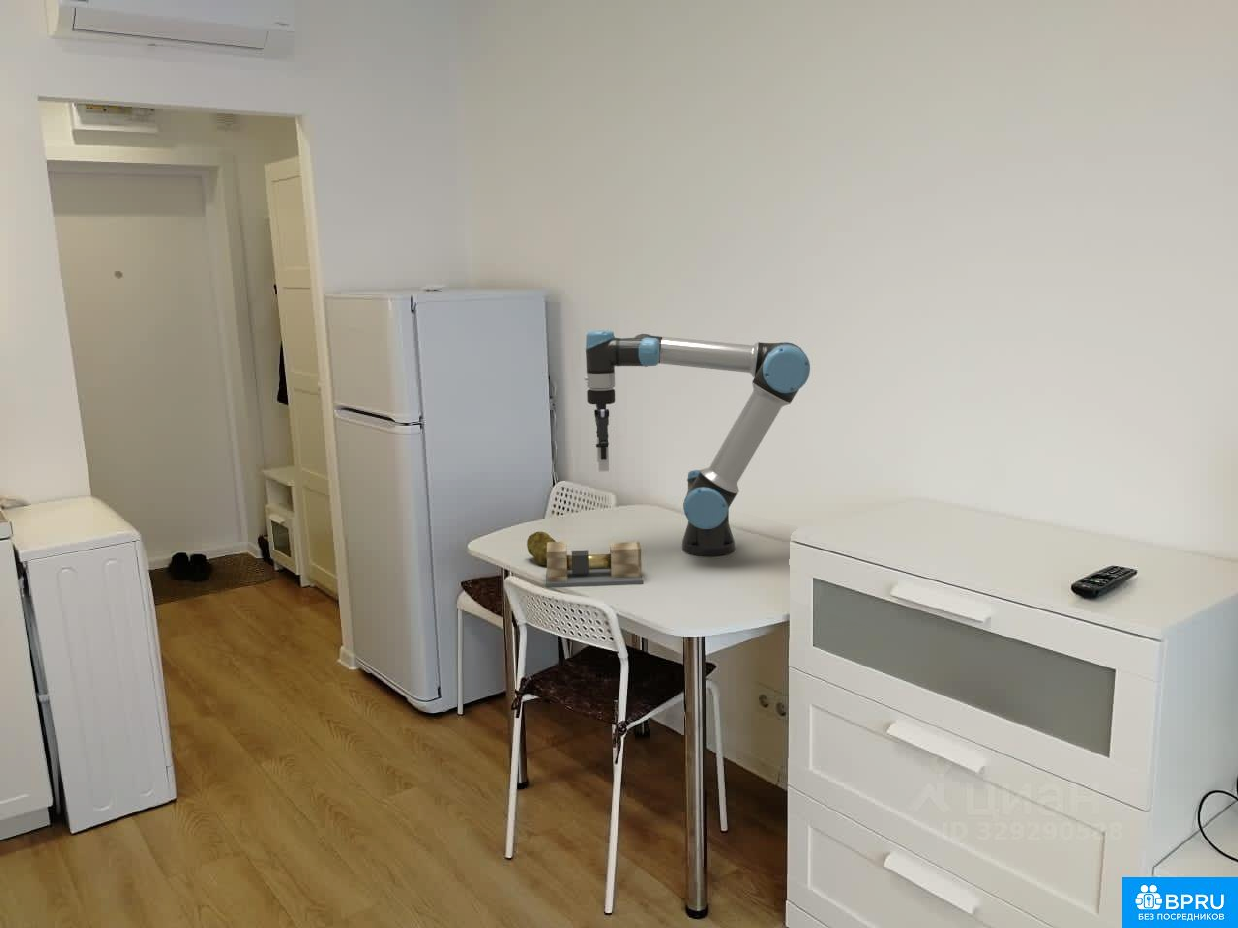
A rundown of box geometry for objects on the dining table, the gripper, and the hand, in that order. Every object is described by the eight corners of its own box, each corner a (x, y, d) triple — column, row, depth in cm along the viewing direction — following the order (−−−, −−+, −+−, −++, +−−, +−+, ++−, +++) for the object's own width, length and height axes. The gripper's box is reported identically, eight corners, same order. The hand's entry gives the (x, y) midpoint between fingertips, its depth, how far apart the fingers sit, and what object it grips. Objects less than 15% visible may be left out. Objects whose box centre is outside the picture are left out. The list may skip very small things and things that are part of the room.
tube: (618, 567, 258) (617, 549, 257) (619, 572, 253) (618, 554, 252) (553, 569, 257) (553, 551, 256) (553, 574, 253) (552, 556, 252)
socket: (567, 570, 259) (566, 541, 258) (567, 580, 251) (566, 551, 249) (548, 571, 259) (547, 542, 258) (547, 581, 250) (546, 551, 249)
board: (640, 569, 262) (639, 566, 262) (643, 583, 250) (643, 580, 250) (546, 573, 261) (546, 569, 261) (545, 587, 249) (545, 583, 249)
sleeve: (639, 569, 259) (639, 541, 258) (641, 577, 252) (641, 549, 251) (610, 570, 259) (609, 542, 258) (611, 578, 252) (611, 550, 251)
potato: (534, 570, 263) (533, 541, 262) (525, 557, 276) (524, 530, 274) (564, 567, 266) (563, 539, 264) (554, 554, 278) (553, 527, 276)
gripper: (586, 383, 274) (588, 458, 278) (588, 394, 250) (590, 475, 254) (613, 383, 275) (614, 457, 279) (617, 393, 250) (619, 474, 254)
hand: (603, 466), depth 266 cm, fingers open, 13 cm apart
